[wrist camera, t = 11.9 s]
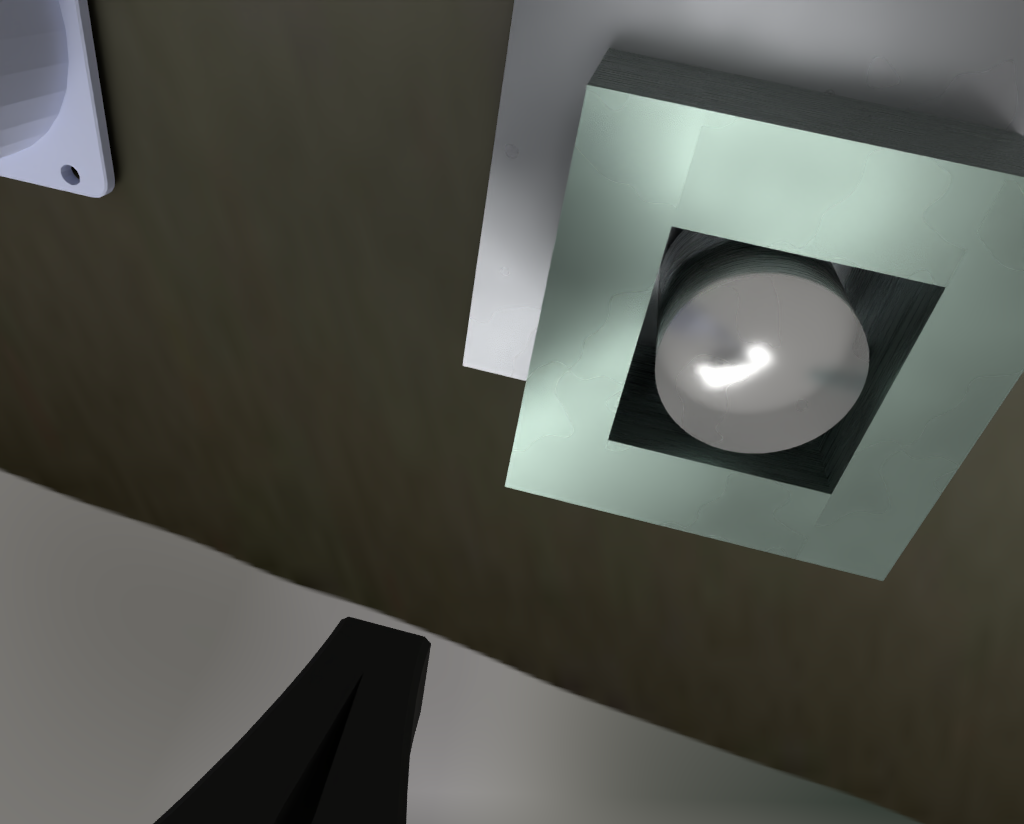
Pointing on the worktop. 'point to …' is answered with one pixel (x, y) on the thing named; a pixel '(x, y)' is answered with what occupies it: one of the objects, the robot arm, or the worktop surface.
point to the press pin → (754, 344)
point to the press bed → (764, 222)
